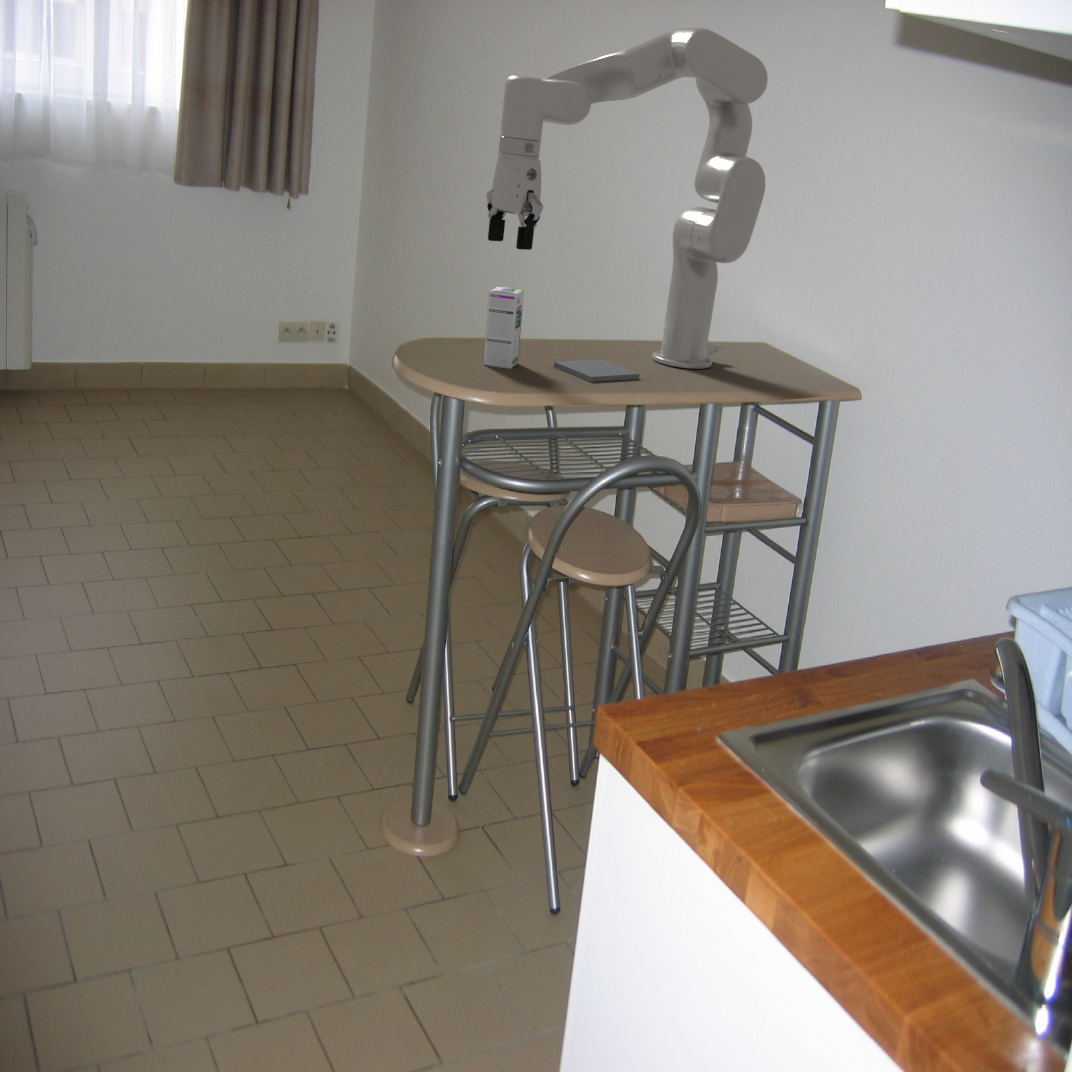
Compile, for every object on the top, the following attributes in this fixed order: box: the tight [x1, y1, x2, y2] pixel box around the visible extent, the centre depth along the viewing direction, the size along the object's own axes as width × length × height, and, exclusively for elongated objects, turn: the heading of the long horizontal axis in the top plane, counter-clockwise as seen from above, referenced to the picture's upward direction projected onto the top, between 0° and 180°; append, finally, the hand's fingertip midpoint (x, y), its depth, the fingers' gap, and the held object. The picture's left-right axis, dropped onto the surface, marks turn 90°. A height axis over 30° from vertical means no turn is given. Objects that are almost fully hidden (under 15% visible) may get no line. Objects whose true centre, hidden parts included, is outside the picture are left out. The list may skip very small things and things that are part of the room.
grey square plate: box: [553, 359, 640, 383], centre depth 222 cm, size 12×12×1 cm
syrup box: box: [483, 286, 525, 370], centre depth 218 cm, size 6×6×14 cm
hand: (509, 244), depth 212 cm, fingers open, 9 cm apart
